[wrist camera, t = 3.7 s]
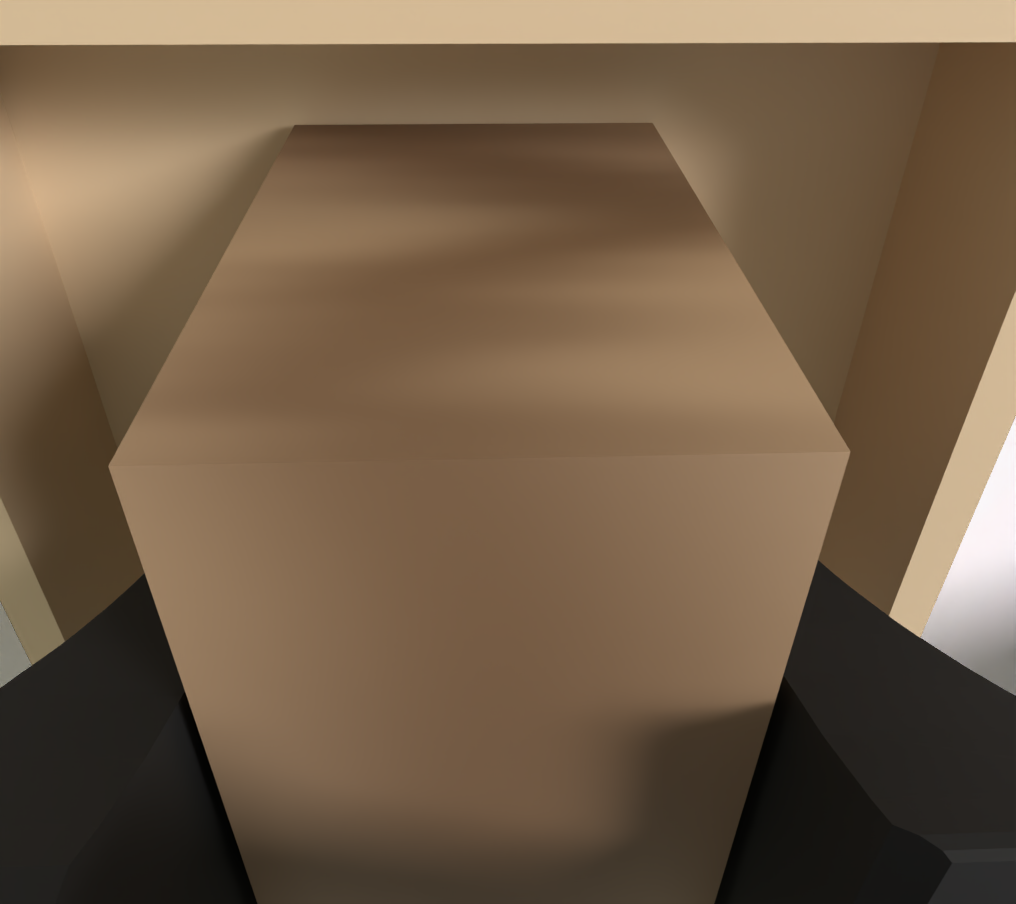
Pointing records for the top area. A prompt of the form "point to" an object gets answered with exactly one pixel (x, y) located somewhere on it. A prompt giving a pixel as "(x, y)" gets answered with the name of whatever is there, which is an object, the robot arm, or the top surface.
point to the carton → (517, 100)
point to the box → (480, 519)
